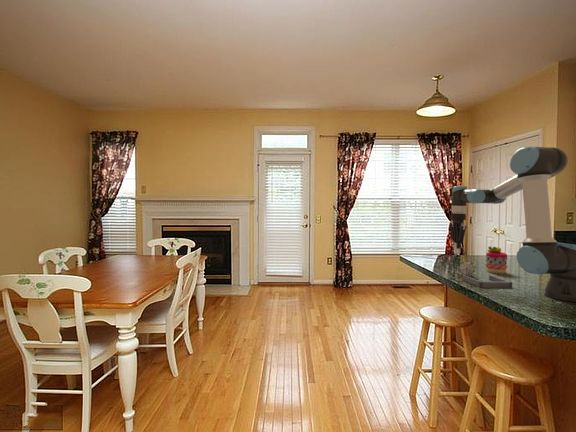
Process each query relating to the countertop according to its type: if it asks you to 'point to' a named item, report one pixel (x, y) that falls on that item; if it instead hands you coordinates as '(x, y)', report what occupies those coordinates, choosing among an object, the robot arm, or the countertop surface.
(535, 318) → the countertop surface
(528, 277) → the countertop surface
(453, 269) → the countertop surface
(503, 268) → the cake
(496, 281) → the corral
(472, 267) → the translucent lumpy piece
